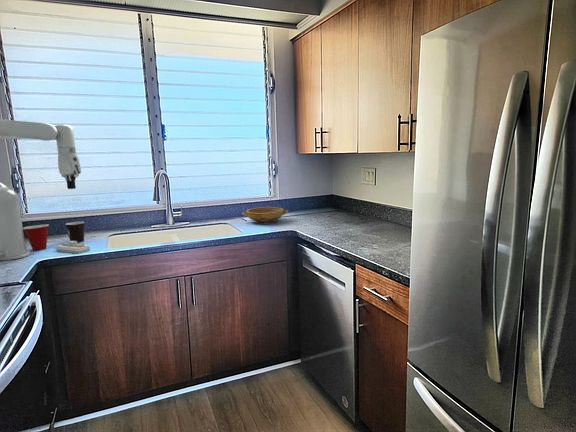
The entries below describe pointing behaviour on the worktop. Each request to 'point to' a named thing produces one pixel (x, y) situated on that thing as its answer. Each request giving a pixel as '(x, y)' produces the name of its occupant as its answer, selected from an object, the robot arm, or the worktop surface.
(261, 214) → the ceramic bowl
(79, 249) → the keypad
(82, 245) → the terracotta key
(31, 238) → the plastic cup
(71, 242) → the sage key
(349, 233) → the worktop surface
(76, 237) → the coffee mug
